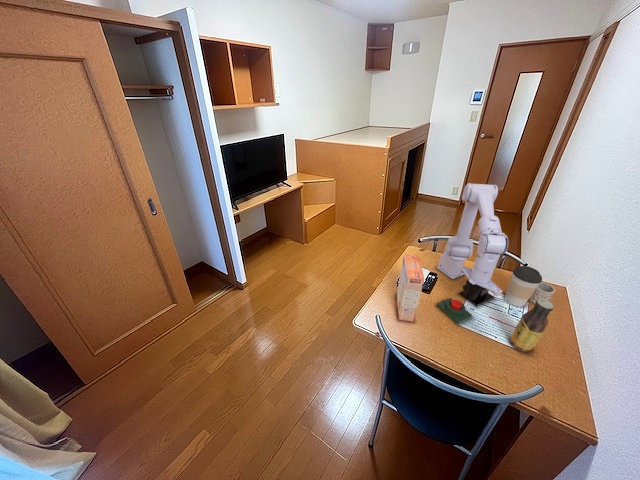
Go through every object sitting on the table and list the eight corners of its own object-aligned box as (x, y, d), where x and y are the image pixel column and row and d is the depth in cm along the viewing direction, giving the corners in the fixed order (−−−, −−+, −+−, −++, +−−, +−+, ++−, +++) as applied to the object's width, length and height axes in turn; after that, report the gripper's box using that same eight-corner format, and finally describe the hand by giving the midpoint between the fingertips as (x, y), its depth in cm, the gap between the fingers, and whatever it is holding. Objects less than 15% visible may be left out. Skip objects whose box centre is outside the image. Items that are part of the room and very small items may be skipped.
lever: (465, 293, 98) (468, 287, 96) (459, 288, 100) (462, 283, 98) (484, 288, 103) (487, 283, 102) (478, 284, 105) (481, 279, 104)
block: (436, 306, 102) (438, 300, 100) (449, 300, 104) (451, 294, 103) (457, 324, 94) (460, 318, 92) (471, 318, 97) (473, 311, 95)
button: (448, 304, 98) (449, 301, 98) (455, 301, 100) (456, 298, 99) (455, 311, 96) (457, 307, 95) (462, 308, 97) (464, 304, 96)
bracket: (476, 307, 101) (482, 291, 97) (459, 294, 107) (464, 278, 103) (493, 299, 105) (500, 283, 100) (476, 287, 111) (481, 271, 107)
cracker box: (414, 322, 96) (425, 278, 85) (397, 320, 97) (406, 276, 86) (411, 296, 107) (420, 254, 96) (396, 294, 108) (403, 253, 97)
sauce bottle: (510, 333, 90) (533, 291, 80) (532, 343, 87) (559, 300, 76) (507, 346, 86) (531, 303, 76) (530, 357, 83) (558, 313, 72)
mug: (550, 301, 103) (558, 288, 99) (542, 308, 100) (550, 295, 96) (523, 287, 110) (529, 274, 107) (515, 293, 107) (521, 280, 104)
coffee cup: (520, 293, 107) (535, 263, 100) (533, 309, 100) (550, 278, 92) (497, 291, 108) (510, 262, 100) (508, 307, 100) (523, 277, 93)
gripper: (456, 259, 88) (447, 289, 95) (496, 284, 77) (482, 316, 84) (470, 253, 91) (460, 283, 98) (512, 277, 79) (497, 309, 86)
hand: (471, 298), depth 91 cm, fingers closed
